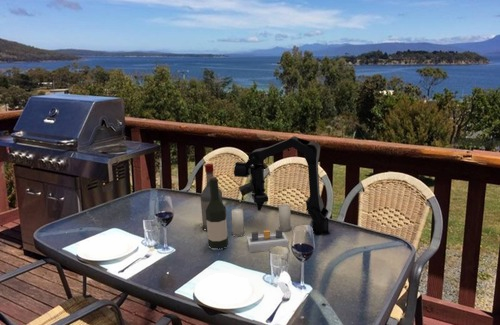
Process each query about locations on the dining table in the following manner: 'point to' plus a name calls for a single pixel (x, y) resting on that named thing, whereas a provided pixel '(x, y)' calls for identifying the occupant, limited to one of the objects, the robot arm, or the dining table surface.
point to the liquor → (207, 194)
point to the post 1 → (237, 222)
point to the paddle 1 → (255, 235)
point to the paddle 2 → (278, 233)
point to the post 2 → (284, 218)
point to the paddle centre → (267, 234)
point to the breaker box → (266, 242)
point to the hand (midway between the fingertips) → (259, 210)
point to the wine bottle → (216, 218)
